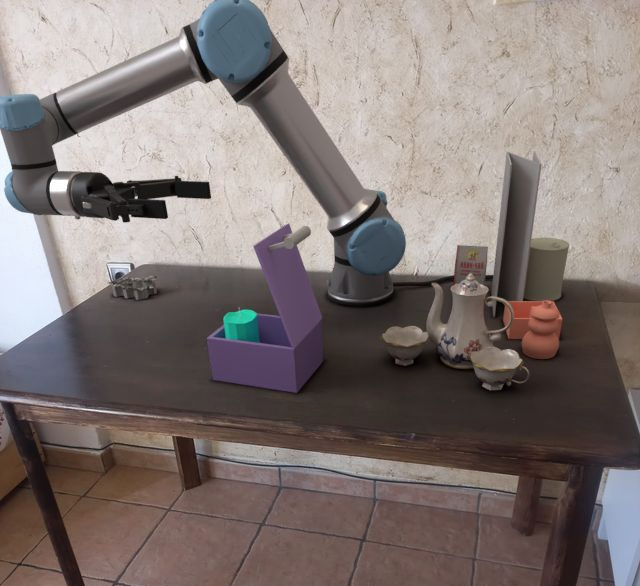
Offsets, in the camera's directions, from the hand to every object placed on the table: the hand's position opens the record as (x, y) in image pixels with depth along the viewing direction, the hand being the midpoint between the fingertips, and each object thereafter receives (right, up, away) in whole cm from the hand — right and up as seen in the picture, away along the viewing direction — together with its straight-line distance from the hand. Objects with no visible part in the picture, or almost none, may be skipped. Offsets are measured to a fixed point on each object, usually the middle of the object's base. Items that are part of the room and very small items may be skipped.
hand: (188, 199), depth 101 cm
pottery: (+63, -21, +18) cm, 69 cm away
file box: (+12, -27, +12) cm, 32 cm away
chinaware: (+46, -26, +11) cm, 55 cm away
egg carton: (-24, -5, +50) cm, 56 cm away
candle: (+8, -27, +11) cm, 31 cm away
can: (+71, -8, +38) cm, 81 cm away
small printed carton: (+57, -5, +43) cm, 71 cm away
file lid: (+16, -14, +2) cm, 22 cm away
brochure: (+62, -11, +34) cm, 72 cm away
